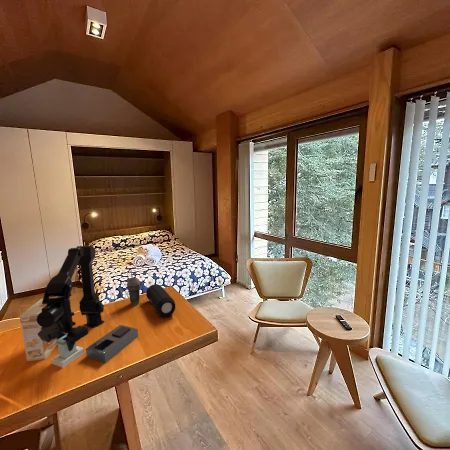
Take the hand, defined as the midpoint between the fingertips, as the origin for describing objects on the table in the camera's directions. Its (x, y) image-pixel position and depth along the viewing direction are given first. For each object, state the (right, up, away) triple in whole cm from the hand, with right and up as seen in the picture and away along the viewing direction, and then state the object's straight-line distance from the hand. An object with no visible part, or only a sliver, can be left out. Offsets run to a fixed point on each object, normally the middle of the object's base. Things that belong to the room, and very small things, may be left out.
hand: (67, 349), depth 98 cm
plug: (0, -3, 0) cm, 3 cm away
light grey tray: (0, -4, +1) cm, 4 cm away
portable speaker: (+26, +3, +40) cm, 48 cm away
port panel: (+15, -3, +8) cm, 17 cm away
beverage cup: (+10, +3, +46) cm, 47 cm away
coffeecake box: (-13, -4, +7) cm, 16 cm away
